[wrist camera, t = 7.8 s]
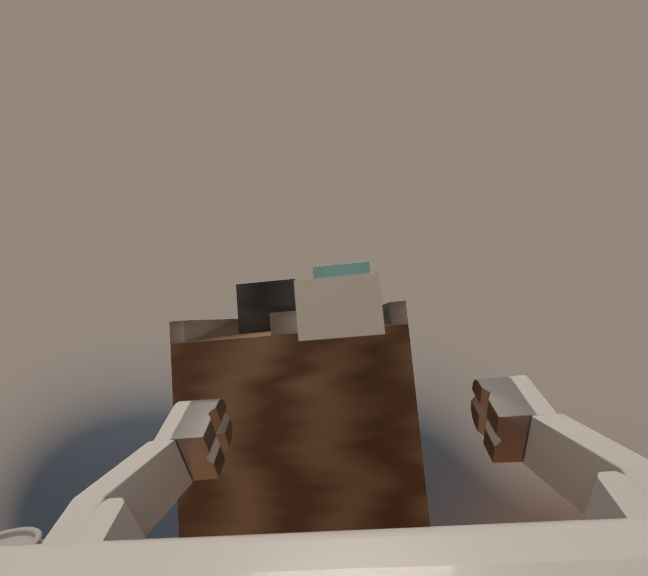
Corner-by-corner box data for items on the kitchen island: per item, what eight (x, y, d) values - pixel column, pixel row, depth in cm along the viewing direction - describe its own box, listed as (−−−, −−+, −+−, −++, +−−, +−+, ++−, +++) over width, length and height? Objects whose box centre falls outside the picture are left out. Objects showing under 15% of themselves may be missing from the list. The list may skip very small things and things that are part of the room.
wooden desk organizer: (417, 601, 31) (383, 271, 34) (457, 777, 19) (399, 247, 22) (249, 604, 33) (230, 286, 35) (189, 771, 21) (167, 271, 23)
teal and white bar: (368, 322, 33) (364, 277, 34) (391, 333, 13) (380, 223, 14) (328, 326, 34) (324, 281, 34) (292, 341, 14) (284, 233, 14)
